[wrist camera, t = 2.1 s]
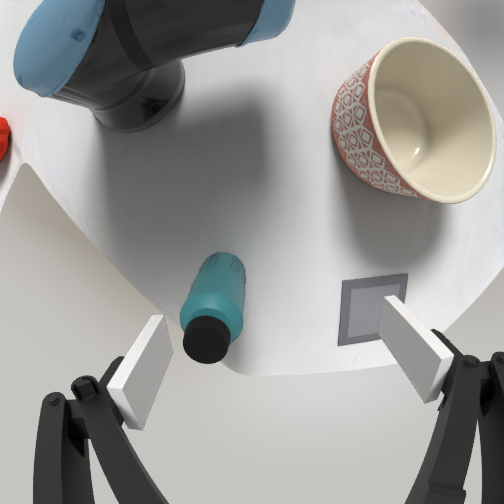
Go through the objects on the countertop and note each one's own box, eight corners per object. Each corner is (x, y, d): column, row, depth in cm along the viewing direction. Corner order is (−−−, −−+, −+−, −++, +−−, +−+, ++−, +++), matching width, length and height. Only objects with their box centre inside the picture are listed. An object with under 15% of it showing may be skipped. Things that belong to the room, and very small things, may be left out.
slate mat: (337, 344, 45) (338, 345, 45) (342, 280, 42) (343, 281, 41) (397, 334, 45) (398, 335, 44) (407, 273, 41) (408, 274, 41)
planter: (402, 216, 39) (460, 238, 25) (303, 141, 36) (332, 123, 22) (449, 126, 34) (509, 119, 20) (363, 50, 32) (406, 9, 17)
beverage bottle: (199, 249, 40) (156, 315, 21) (245, 245, 40) (238, 312, 21) (205, 290, 42) (174, 377, 23) (249, 287, 42) (246, 375, 23)
